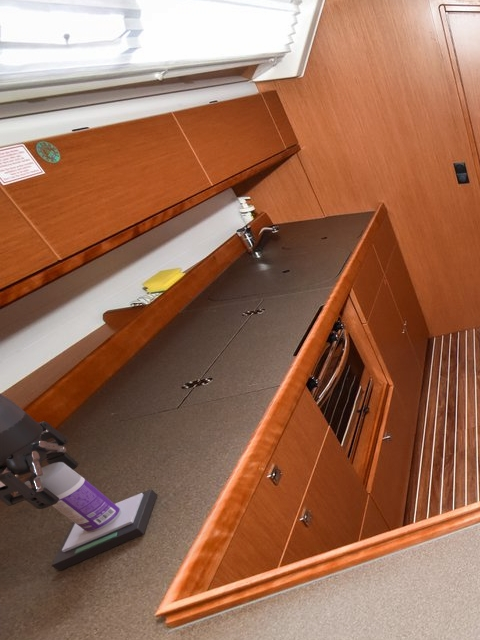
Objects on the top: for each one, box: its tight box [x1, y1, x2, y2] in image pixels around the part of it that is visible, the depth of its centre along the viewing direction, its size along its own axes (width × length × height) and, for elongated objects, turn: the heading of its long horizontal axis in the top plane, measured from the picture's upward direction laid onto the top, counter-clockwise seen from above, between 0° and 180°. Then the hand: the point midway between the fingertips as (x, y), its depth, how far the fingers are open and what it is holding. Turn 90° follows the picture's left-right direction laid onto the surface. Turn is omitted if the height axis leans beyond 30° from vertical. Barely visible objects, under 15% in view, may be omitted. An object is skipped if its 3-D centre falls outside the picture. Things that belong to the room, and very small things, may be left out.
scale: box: [51, 488, 158, 572], centre depth 80 cm, size 11×10×3 cm
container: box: [25, 462, 121, 532], centre depth 75 cm, size 5×5×15 cm
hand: (60, 486), depth 74 cm, fingers open, 8 cm apart
